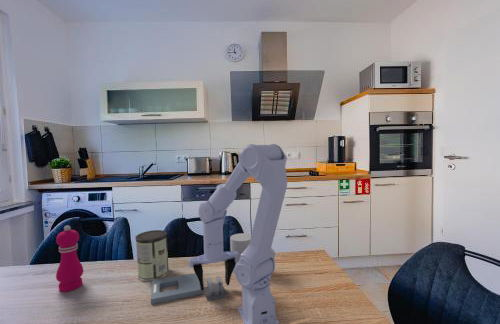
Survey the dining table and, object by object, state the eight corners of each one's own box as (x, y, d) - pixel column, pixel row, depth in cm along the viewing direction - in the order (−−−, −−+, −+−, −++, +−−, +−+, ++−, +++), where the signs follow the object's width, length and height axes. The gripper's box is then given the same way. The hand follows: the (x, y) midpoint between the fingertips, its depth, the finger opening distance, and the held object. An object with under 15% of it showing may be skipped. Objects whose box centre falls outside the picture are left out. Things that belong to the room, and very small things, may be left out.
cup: (254, 275, 87) (253, 241, 87) (230, 276, 87) (229, 241, 87) (254, 265, 95) (253, 233, 95) (232, 265, 96) (231, 233, 95)
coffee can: (146, 267, 96) (144, 229, 95) (173, 267, 95) (171, 230, 94) (131, 281, 86) (129, 239, 85) (161, 282, 85) (159, 240, 84)
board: (201, 295, 76) (201, 288, 76) (151, 305, 72) (150, 298, 72) (196, 277, 87) (196, 272, 87) (152, 286, 82) (152, 280, 82)
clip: (223, 294, 76) (222, 282, 76) (209, 297, 75) (209, 284, 74) (220, 287, 80) (220, 276, 79) (207, 289, 78) (207, 278, 78)
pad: (228, 298, 74) (228, 297, 74) (207, 302, 72) (207, 301, 72) (222, 284, 82) (222, 283, 82) (203, 288, 80) (203, 287, 80)
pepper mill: (70, 293, 79) (66, 229, 78) (51, 291, 80) (46, 228, 79) (89, 281, 86) (86, 222, 85) (71, 280, 87) (67, 222, 86)
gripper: (233, 234, 82) (234, 275, 83) (187, 240, 78) (188, 284, 79) (239, 241, 76) (241, 286, 77) (189, 248, 71) (191, 296, 72)
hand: (214, 286), depth 77 cm, fingers open, 7 cm apart
